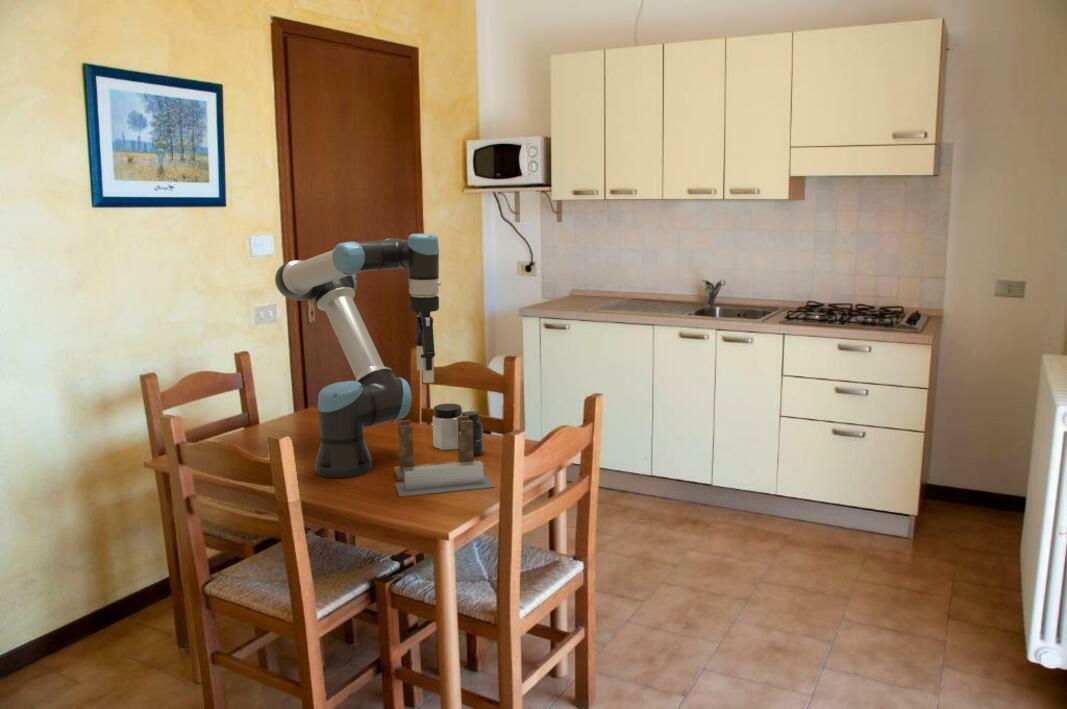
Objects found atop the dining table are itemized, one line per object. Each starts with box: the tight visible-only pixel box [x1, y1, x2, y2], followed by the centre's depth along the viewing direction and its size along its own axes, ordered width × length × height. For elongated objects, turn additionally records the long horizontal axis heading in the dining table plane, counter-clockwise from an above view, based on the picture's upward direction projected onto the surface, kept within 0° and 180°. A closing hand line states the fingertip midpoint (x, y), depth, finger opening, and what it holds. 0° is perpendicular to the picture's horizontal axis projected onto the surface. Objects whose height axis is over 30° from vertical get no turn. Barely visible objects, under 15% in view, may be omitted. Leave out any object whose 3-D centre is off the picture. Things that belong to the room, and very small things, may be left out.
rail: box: [403, 460, 485, 490], centre depth 216 cm, size 20×3×5 cm, turn 105°
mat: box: [394, 473, 495, 498], centre depth 216 cm, size 24×10×1 cm, turn 105°
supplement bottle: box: [462, 410, 484, 457], centre depth 242 cm, size 7×7×12 cm
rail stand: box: [393, 416, 475, 481], centre depth 226 cm, size 22×8×14 cm, turn 105°
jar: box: [432, 403, 463, 451], centre depth 249 cm, size 9×8×12 cm
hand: (425, 376), depth 220 cm, fingers open, 13 cm apart
